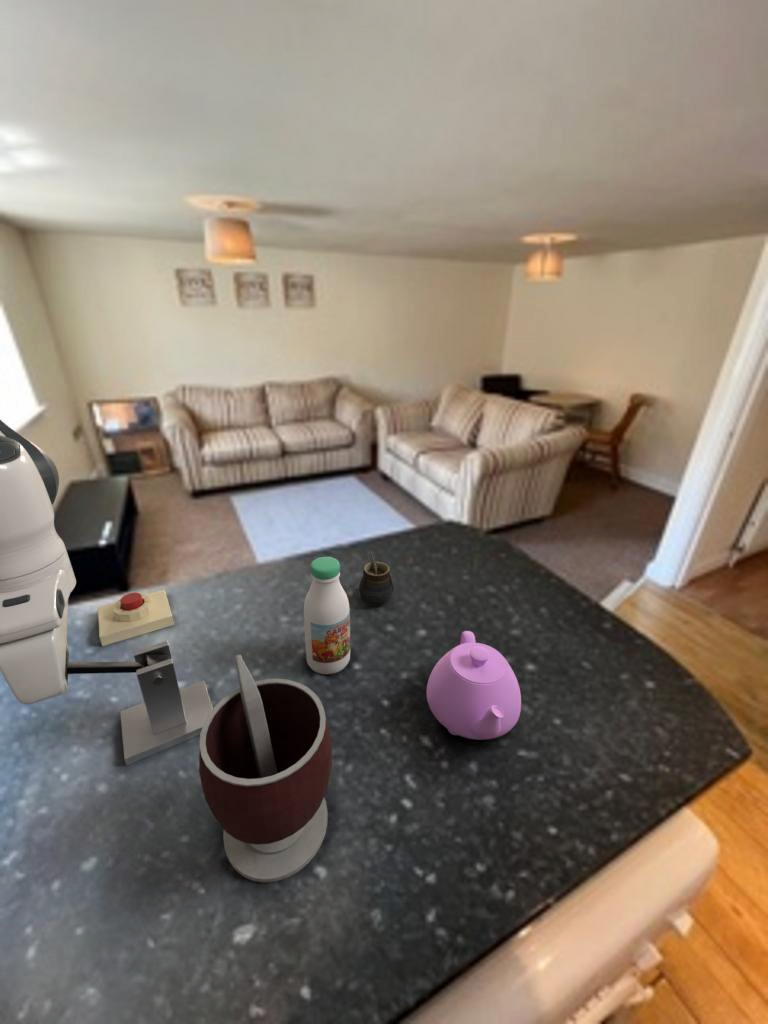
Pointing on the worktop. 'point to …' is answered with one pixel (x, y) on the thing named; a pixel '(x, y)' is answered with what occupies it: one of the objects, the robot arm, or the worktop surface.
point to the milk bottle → (326, 619)
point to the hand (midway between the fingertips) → (61, 674)
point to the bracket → (162, 708)
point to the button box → (134, 618)
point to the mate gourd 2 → (376, 583)
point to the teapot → (474, 691)
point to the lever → (110, 665)
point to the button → (131, 601)
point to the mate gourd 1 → (267, 774)
